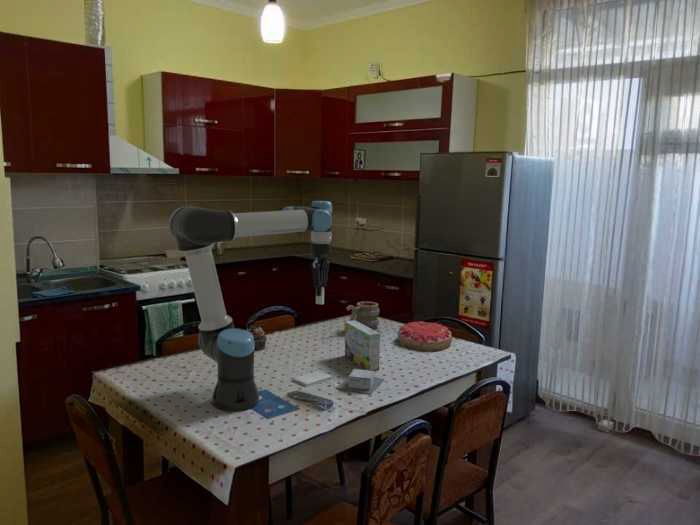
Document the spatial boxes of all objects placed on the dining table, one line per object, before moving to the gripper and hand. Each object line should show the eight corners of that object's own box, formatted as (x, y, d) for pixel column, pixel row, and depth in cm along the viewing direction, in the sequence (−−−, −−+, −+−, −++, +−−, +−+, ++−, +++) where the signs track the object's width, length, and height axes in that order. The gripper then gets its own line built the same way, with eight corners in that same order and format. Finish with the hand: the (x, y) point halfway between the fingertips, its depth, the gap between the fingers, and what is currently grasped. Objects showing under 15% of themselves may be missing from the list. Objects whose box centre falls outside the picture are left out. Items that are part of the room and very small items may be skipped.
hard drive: (317, 370, 213) (292, 377, 205) (332, 375, 208) (306, 383, 199) (317, 374, 214) (291, 381, 205) (331, 380, 208) (306, 388, 199)
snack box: (343, 355, 235) (344, 321, 233) (355, 354, 238) (356, 319, 236) (367, 371, 217) (369, 334, 215) (380, 369, 219) (381, 332, 217)
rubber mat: (370, 394, 194) (370, 393, 194) (336, 388, 198) (336, 387, 198) (384, 379, 208) (384, 378, 208) (351, 374, 213) (351, 373, 213)
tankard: (367, 326, 283) (368, 297, 280) (384, 332, 273) (386, 302, 271) (336, 332, 270) (337, 302, 268) (353, 339, 260) (354, 307, 258)
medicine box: (353, 379, 207) (347, 388, 198) (353, 368, 206) (348, 376, 198) (374, 382, 205) (369, 390, 196) (374, 370, 204) (370, 378, 196)
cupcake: (262, 352, 237) (263, 329, 235) (241, 350, 238) (241, 327, 237) (269, 345, 246) (269, 323, 245) (248, 344, 248) (248, 322, 246)
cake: (423, 330, 276) (424, 314, 274) (463, 344, 257) (464, 328, 255) (386, 341, 260) (387, 325, 259) (426, 357, 241) (427, 340, 240)
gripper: (323, 244, 202) (322, 308, 205) (336, 241, 214) (335, 301, 218) (304, 243, 205) (303, 306, 208) (319, 240, 217) (317, 299, 220)
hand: (319, 303), depth 213 cm, fingers closed
